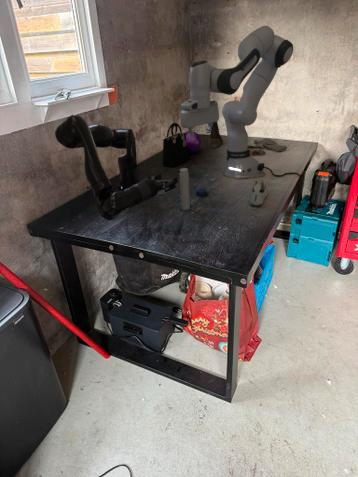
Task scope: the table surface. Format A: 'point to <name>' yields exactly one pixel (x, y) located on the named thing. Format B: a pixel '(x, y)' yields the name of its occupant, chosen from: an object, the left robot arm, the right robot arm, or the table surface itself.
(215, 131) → the boot
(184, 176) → the bottle
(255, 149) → the pair of gloves
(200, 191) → the lid
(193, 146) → the decorative orb
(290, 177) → the table surface
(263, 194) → the ballet flat
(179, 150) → the handbag
